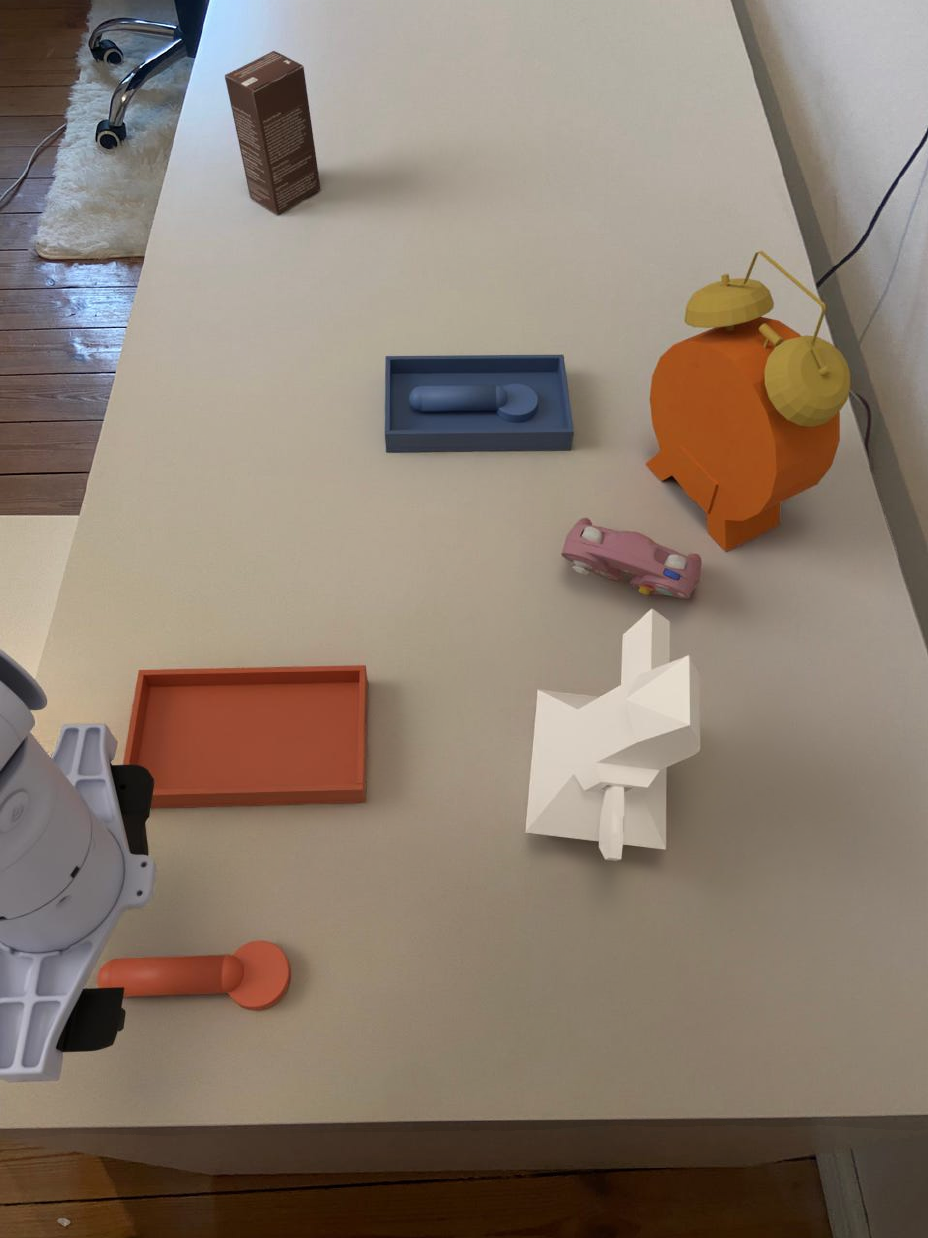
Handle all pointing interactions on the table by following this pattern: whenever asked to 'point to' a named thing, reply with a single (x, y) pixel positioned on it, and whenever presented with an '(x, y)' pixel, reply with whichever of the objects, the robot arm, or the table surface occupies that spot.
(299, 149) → the box
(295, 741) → the red tray
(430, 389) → the blue spoon
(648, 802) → the white faceted sculpture
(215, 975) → the red spoon
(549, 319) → the table surface
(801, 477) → the alarm clock
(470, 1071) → the table surface
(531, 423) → the blue tray
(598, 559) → the pink toy car
